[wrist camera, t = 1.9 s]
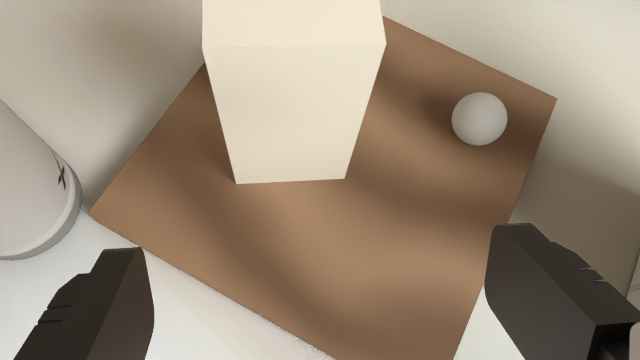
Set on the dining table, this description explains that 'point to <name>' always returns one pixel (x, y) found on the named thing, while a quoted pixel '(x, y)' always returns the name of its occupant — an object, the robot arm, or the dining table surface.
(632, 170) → the dining table surface
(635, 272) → the coffee box
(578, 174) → the dining table surface
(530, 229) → the robot arm
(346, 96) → the cream tall block
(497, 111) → the grey ball
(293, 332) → the board
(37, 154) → the travel mug
